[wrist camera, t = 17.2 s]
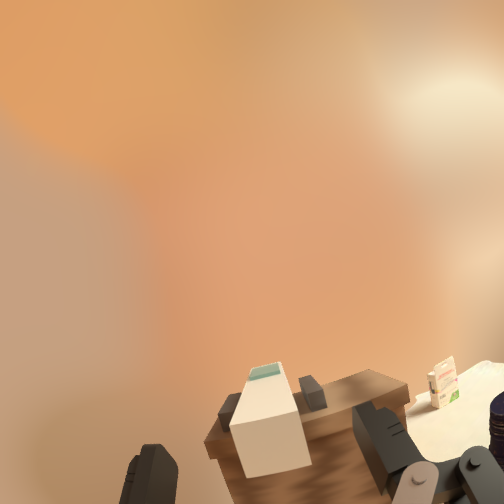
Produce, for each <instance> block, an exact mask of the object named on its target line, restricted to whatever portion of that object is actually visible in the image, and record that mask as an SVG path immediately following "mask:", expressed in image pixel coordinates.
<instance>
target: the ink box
mask: <svg viewBox="0 0 504 504" xmlns="http://www.w3.org/2000/svg"><path fill="white" fill-rule="evenodd" d="M444 363H446V364H445V365H443V364H444ZM442 365H443V366H442ZM427 377H428V383H429V389H430V396H431V403H432V406H433V407H436V408H439V409H440V408H442V407H443V406H445V405H447V404H448V403H450V402H452V401H453V400H455V399H456V398H458V397H459V391H458V382H457V376H456V368H455V364H454V359H453V356H451V357H449V358H448V359H446V360H444V361H442V362H440V363H439V364H437V365H435V366H434V371H432V372H431V373H429V374H427Z"/></svg>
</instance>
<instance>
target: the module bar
mask: <svg viewBox="0 0 504 504" xmlns="http://www.w3.org/2000/svg"><path fill="white" fill-rule="evenodd" d="M229 427H230V430H231V433H232V436H233V440H234V443H235V446H236V449H237V452H238V455H239V458H240V461H241V464H242V467H243V470H244V472H245V475H246V478H253V477H259V476H264V475H270V474H275V473H280V472H284V471H289V470H293V469H297V468H301V467H305V466H309V465H312V463H311V459H310V455H309V451H308V447H307V443H306V439H305V435H304V431H303V428H302V424H301V420H300V416H299V412H298V409H297V406H296V403H295V401H294V398H293V395H292V392H291V389H290V387H289V384H288V381H287V378H286V376H285V373H284V370H283V367H282V364H281V362H276V363H272V364H268V365H264V366H260V367H256V368H252V369H251V372H250V374H249V377H248V379H247V382H246V384H245V387H244V390H243V392H242V394H241V397H240V400H239V402H238V405H237V407H236V410H235V412H234V414H233V417H232V419H231V422H230V424H229Z"/></svg>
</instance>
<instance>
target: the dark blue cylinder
mask: <svg viewBox="0 0 504 504" xmlns="http://www.w3.org/2000/svg"><path fill="white" fill-rule="evenodd" d="M489 425H490V427H489V431H490V435H491V439H490V445H489V449H488V450H489V451H490V452H491V454H492V455H493V457H494V458H495V460H496V461H497V463H498V464H499V466H500V467H501V469H502V471H503V472H504V392H502V393H500V394H499V395H498V396H496V397H495V398H494V399H493V401H492V402H491V404H490V419H489Z"/></svg>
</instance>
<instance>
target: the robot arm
mask: <svg viewBox="0 0 504 504" xmlns="http://www.w3.org/2000/svg"><path fill="white" fill-rule="evenodd" d="M352 426H353V432H354V436H355V439H356V441H357V443H358V445H359V447H360V450H361V452H362V454H363V456H364V458H365V461H366V463H367V465H368V467H369V470H370V472H371V474H372V476H373V478H374V481H375V483H376V485H377V487H378V490H379V492H380V494H381V496H384V495H386V494H389V496H390V498H391V500H392V501H391V503H390V504H440V503H444V504H504V472H503V471H502V469H501V467H500V466H499V464H498V463H497V461H496V460H495V458H494V457H493V455H492V454H491V452H490V451H489V450H488V449H487V448H485V447H483V446H474V447H471V448H469V449H468V450H466V451H465V452H464V453H463V454H462V456H461V457H458V458H455V459H452V460H448V461H445V462H439V463H435V462H430V461H428V460H426V459H425V458H424V457H423V456H422V455H421V453H420V452H419V450H418V449H417V447H416V445H415V444H414V442H413V441H412V439H411V437H410V436H409V434H408V433H407V431H405V428H404V426H403V425H402V424H401V422H400V420H399V419H398V417H397V415H396V414H395V413H394V412H393V411H391V410H389V409H388V408H386V407H383V408H381V409H378V410H376V408H375V406H374V405H373V403H372V402H371V401H370V400H368V401H366V402H363V403H360V404H358V405H355V406H353V407H352ZM177 479H178V466H177V464H176V462H175V460H174V459H173V458H172V457H171V456H170V454H169V453H168V452H167V451H166V449H165V448H164V447H163V446H162V445H161V444H145V445H143V446H142V449H141V452H140V455H136V456H135V457H134V458H133V459H132V461H131V462H130V464H129V467H128V471H127V475H126V478H125V482H124V486H123V490H122V494H121V498H120V502H119V504H175V497H176V488H177Z"/></svg>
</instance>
